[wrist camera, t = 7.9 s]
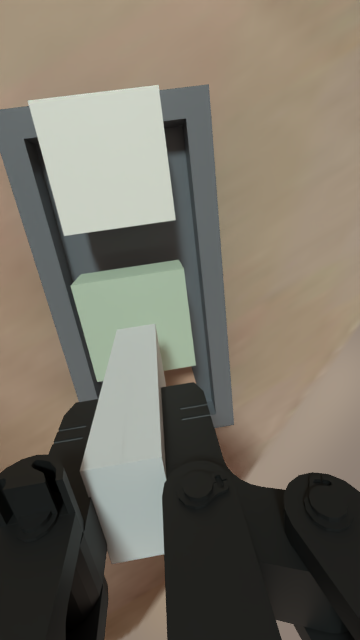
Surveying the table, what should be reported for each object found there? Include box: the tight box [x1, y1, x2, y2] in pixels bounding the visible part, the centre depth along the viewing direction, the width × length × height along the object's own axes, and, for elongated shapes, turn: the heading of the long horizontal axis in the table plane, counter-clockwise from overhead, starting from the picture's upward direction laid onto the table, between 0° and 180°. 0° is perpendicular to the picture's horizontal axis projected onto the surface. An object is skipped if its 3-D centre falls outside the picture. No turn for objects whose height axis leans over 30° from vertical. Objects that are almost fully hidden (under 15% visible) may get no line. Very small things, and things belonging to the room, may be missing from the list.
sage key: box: [71, 260, 196, 382], centre depth 16 cm, size 5×5×4 cm
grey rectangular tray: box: [0, 84, 234, 428], centre depth 18 cm, size 20×10×2 cm, turn 7°
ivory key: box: [28, 85, 176, 236], centre depth 14 cm, size 5×5×4 cm
